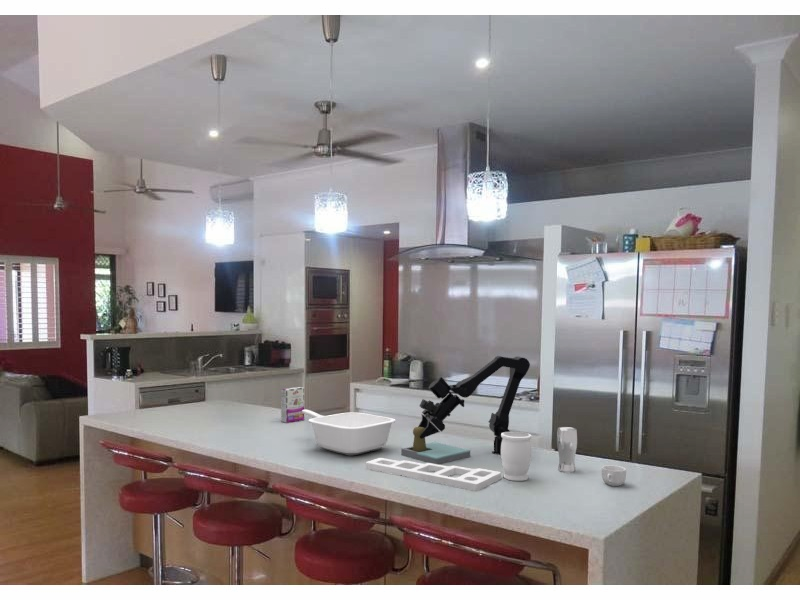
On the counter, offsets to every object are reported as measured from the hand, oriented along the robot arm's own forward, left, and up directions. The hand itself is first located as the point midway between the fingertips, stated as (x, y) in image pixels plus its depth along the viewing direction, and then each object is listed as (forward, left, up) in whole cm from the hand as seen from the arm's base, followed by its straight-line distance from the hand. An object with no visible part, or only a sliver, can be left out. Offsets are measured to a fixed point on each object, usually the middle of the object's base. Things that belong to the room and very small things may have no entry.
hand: (418, 435), depth 246 cm
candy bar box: (+91, -1, -8) cm, 91 cm away
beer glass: (-50, -25, -8) cm, 57 cm away
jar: (-44, -3, -8) cm, 45 cm away
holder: (-21, +14, -9) cm, 27 cm away
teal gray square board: (-5, -5, -8) cm, 10 cm away
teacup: (-70, -21, -8) cm, 74 cm away
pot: (+32, +15, -8) cm, 36 cm away
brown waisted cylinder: (0, 0, -8) cm, 8 cm away
